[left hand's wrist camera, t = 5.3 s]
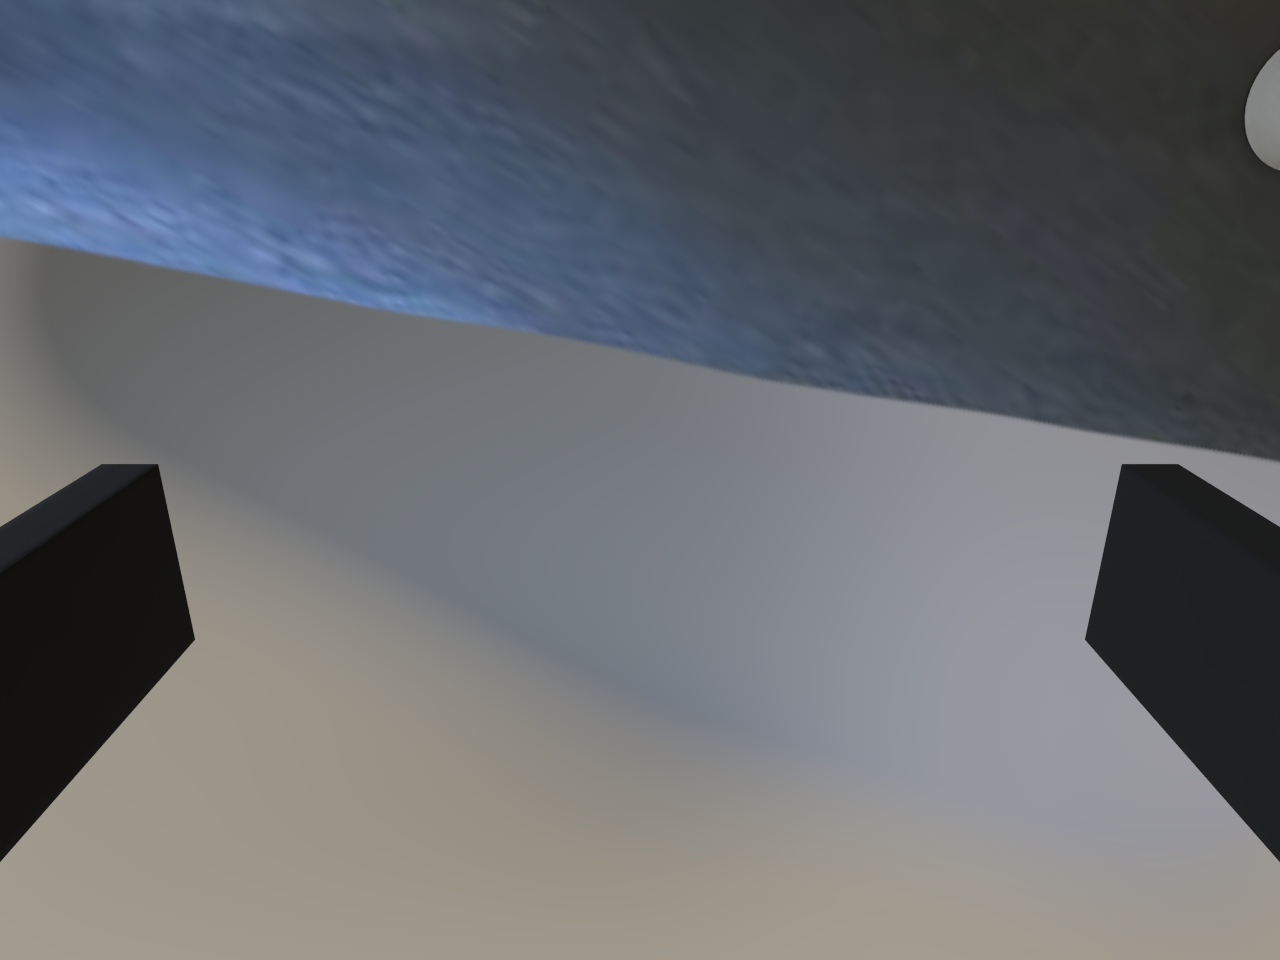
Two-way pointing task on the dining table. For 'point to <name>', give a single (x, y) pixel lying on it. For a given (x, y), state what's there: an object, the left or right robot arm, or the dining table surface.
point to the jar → (1265, 113)
